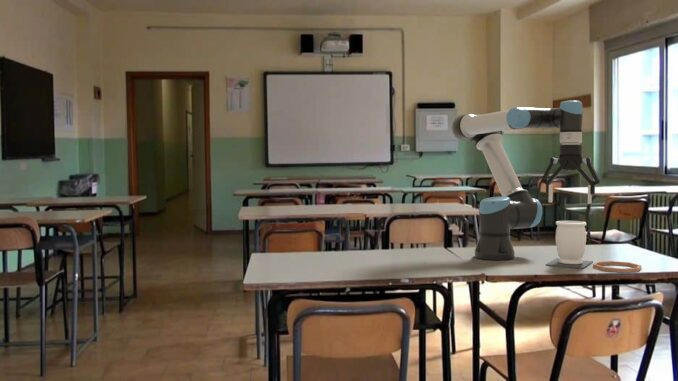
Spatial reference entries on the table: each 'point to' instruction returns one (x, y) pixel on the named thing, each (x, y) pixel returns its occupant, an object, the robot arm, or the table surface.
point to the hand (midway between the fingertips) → (569, 203)
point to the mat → (578, 266)
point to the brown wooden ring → (635, 269)
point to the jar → (570, 241)
